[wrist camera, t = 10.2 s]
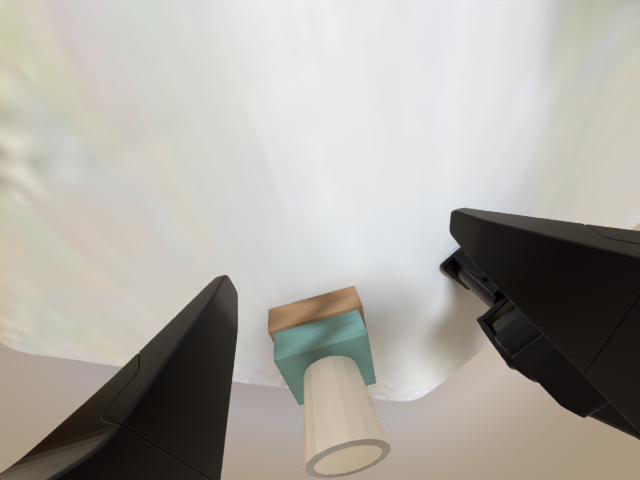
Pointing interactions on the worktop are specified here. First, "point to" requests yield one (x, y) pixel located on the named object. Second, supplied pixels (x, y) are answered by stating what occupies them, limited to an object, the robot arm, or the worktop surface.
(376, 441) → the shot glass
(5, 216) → the worktop surface
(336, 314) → the teal and brown block
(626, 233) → the robot arm
